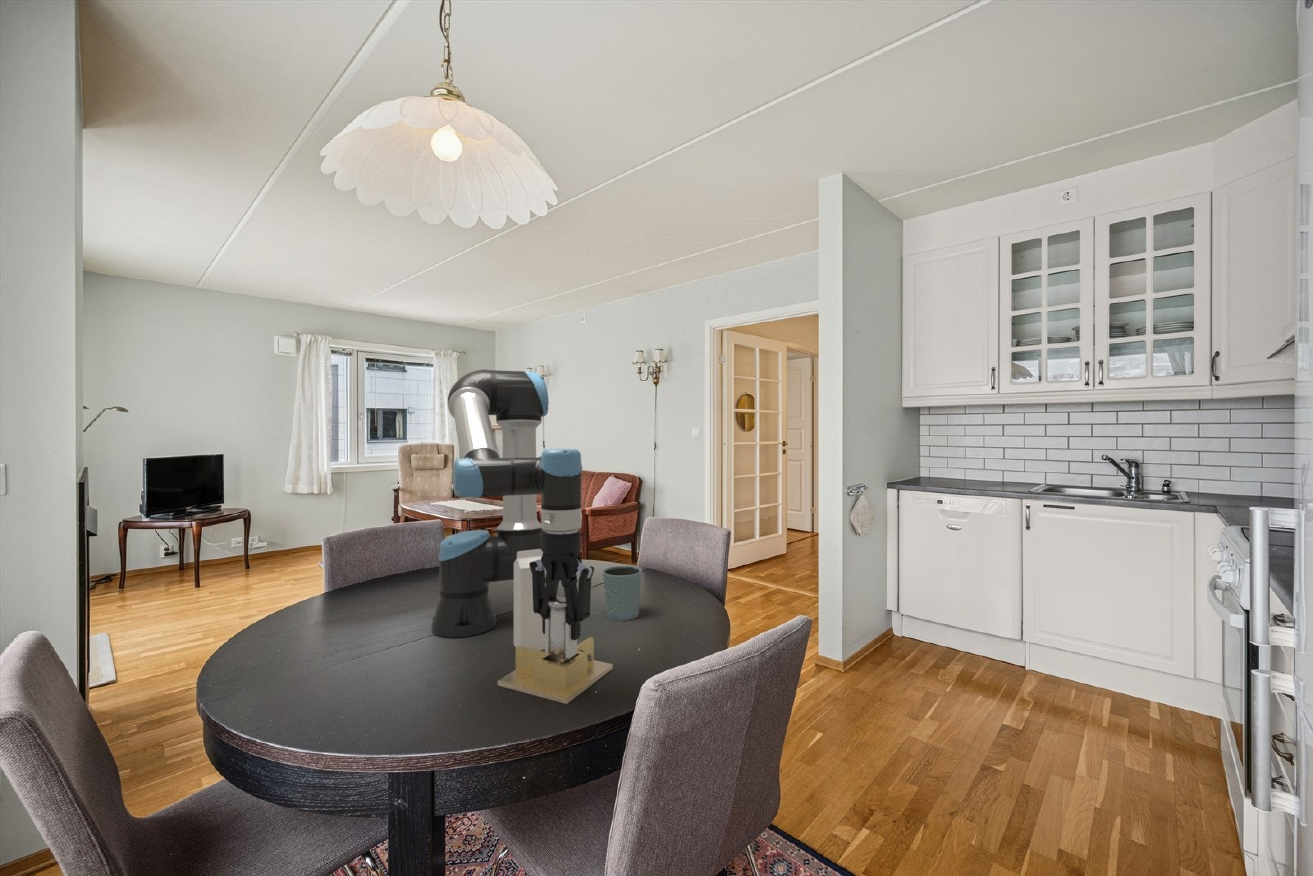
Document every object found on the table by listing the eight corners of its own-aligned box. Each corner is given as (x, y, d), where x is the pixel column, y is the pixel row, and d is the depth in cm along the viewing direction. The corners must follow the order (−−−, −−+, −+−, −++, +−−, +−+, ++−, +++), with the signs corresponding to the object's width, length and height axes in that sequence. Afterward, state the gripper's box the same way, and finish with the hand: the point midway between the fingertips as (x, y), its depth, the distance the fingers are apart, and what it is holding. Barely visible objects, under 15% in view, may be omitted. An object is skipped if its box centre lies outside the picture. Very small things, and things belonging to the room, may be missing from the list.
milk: (546, 649, 120) (547, 551, 120) (520, 655, 117) (520, 554, 117) (538, 640, 126) (539, 546, 125) (512, 645, 123) (513, 548, 122)
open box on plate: (566, 704, 96) (566, 670, 96) (497, 685, 103) (497, 654, 103) (612, 669, 110) (612, 639, 110) (549, 654, 117) (549, 627, 117)
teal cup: (648, 613, 145) (648, 568, 145) (626, 624, 136) (626, 577, 136) (618, 606, 150) (618, 564, 150) (595, 617, 142) (595, 571, 142)
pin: (542, 670, 101) (542, 601, 101) (558, 660, 105) (558, 595, 105) (563, 675, 99) (563, 605, 99) (578, 665, 103) (578, 598, 103)
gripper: (512, 530, 102) (512, 652, 102) (588, 537, 95) (588, 670, 95) (537, 524, 109) (537, 639, 109) (610, 530, 101) (609, 654, 102)
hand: (561, 653), depth 102 cm, fingers closed on pin, 4 cm apart
